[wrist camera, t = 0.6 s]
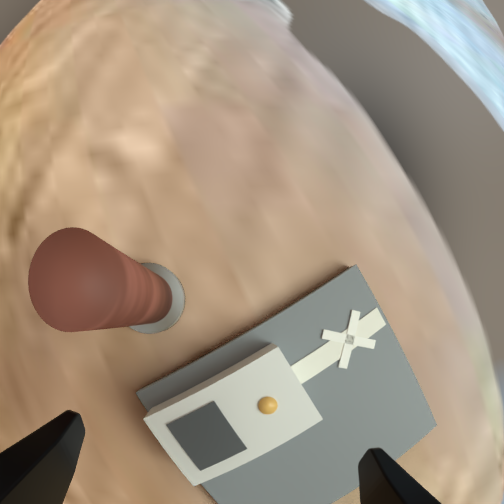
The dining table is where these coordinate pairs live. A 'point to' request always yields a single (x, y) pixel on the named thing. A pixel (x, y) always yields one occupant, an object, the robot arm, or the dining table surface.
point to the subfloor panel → (320, 395)
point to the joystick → (100, 286)
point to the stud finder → (233, 416)
